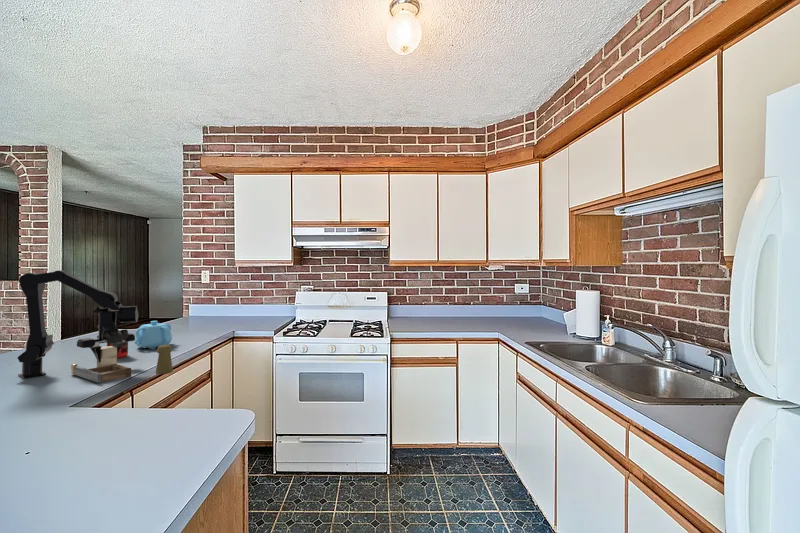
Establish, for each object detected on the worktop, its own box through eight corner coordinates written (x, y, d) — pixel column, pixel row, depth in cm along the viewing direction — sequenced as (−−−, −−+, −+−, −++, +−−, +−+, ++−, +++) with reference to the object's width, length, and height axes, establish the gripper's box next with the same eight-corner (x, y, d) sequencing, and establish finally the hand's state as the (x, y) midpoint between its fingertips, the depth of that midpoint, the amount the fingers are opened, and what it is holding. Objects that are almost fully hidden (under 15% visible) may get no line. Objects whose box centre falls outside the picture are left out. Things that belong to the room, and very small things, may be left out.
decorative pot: (167, 349, 199) (168, 323, 199) (130, 351, 194) (131, 323, 194) (174, 343, 214) (175, 318, 214) (140, 344, 209) (141, 319, 209)
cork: (169, 369, 163) (169, 343, 163) (175, 372, 159) (175, 345, 159) (153, 372, 159) (153, 345, 158) (158, 375, 155) (159, 347, 155)
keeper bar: (70, 373, 153) (70, 364, 152) (75, 372, 154) (76, 363, 154) (96, 382, 142) (96, 373, 142) (102, 381, 143) (102, 372, 143)
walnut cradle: (86, 377, 150) (86, 369, 150) (115, 371, 159) (115, 363, 159) (101, 382, 144) (101, 374, 144) (131, 375, 153) (131, 368, 153)
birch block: (96, 367, 159) (97, 348, 159) (110, 365, 164) (110, 346, 164) (102, 369, 157) (103, 349, 157) (116, 366, 161) (117, 347, 161)
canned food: (104, 356, 181) (105, 333, 181) (125, 354, 187) (125, 331, 187) (108, 359, 176) (109, 335, 176) (129, 357, 182) (130, 333, 182)
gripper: (89, 328, 148) (89, 369, 148) (142, 322, 164) (141, 359, 164) (76, 325, 154) (75, 364, 154) (128, 319, 170) (127, 355, 170)
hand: (106, 361), depth 160 cm, fingers closed on birch block, 5 cm apart
